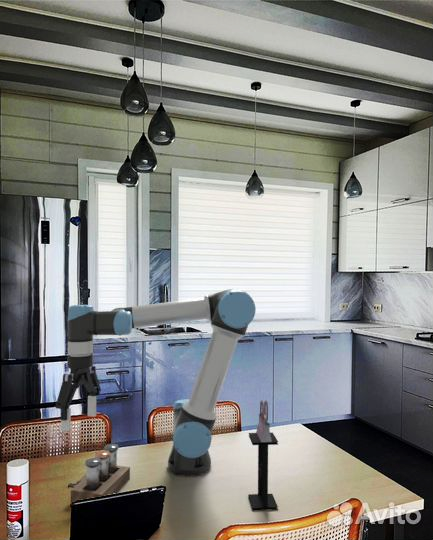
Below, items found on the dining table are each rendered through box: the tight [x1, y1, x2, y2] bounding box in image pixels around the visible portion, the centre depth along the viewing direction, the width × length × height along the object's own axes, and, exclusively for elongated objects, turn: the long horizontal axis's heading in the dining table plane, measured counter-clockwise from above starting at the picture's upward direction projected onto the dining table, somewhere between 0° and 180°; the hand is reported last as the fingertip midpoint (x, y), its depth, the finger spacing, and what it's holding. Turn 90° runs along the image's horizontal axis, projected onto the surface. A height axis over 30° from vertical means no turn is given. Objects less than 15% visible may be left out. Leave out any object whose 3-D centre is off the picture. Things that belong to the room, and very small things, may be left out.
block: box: [70, 465, 131, 504], centre depth 127 cm, size 10×18×4 cm, turn 166°
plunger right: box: [103, 443, 119, 474], centre depth 132 cm, size 4×4×8 cm
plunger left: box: [84, 457, 101, 491], centre depth 122 cm, size 4×4×8 cm
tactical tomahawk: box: [67, 472, 87, 489], centre depth 139 cm, size 21×7×1 cm, turn 165°
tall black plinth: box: [247, 399, 279, 512], centre depth 121 cm, size 10×8×30 cm
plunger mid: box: [94, 450, 110, 482], centre depth 127 cm, size 4×4×8 cm
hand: (79, 423), depth 128 cm, fingers open, 13 cm apart
